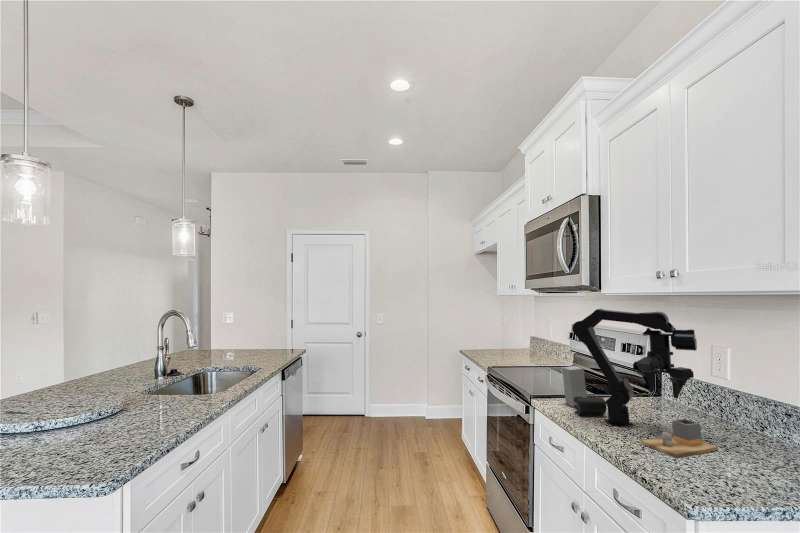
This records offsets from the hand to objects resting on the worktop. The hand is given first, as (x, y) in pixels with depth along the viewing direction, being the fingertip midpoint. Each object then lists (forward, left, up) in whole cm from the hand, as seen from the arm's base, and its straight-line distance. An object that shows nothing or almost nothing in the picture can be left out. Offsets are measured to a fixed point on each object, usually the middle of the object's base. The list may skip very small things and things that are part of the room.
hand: (663, 395), depth 138 cm
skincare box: (-37, -6, -12) cm, 39 cm away
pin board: (+12, -9, -12) cm, 19 cm away
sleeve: (+12, -5, -11) cm, 17 cm away
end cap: (-24, -10, -12) cm, 29 cm away
